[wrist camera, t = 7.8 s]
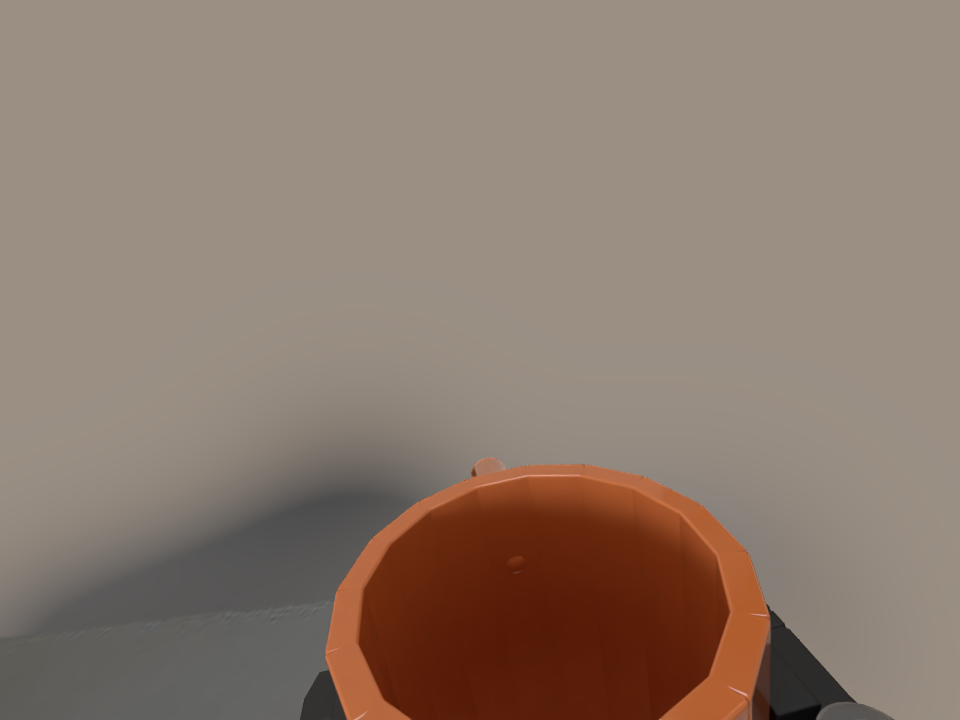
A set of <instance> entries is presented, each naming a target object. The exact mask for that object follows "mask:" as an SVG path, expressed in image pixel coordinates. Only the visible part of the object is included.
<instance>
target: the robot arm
mask: <svg viewBox="0 0 960 720" xmlns="http://www.w3.org/2000/svg"><path fill="white" fill-rule="evenodd" d="M766 605H767V604H766ZM767 608H768V611H769V614H770V617H771V648H770V711H769V720H894V719H893V718H891V717H890V716H888V715H886V714H885V713H883V712H881V711H879V710H876V709H874V708H872V707H869V706H866V705H863V704H858V703H857V702H856V701H854V700H853V699H852V698H851V697H850V696H849V695H848V694H847V692H846V691H845V690H844V689H843V688H842V687H841V686H840V685H839V684H838V682H837V681H836V680H835V679H834V678H833V677H832V676H831V675H830V674H829V672H828V671H827V670H826V669H825V668H824V667H823V666H822V665H821V664H820V662H819V661H818V660H817V659H816V658H815V657H814V656H813V655H812V654H811V653H810V651H809V650H808V649H807V648H806V647H805V646H804V645H803V644H802V643H801V642H800V640H799V639H798V638H797V637H796V636H795V635H794V634H793V633H792V632H791V630H790V629H787V628H786V627H785V624H784V623H783V622H782V620H781V619H780V618H779V617H778V616H777V615H776V614H775V613H774V612H773V611H771V610H770V608H769V606H768V605H767ZM300 720H346V719H345V716H344V713H343V710H342V707H341V704H340V701H339V698H338V695H337V693H336V690H335V687H334V684H333V681H332V678H331V675H330V672H329V670H328V671H324V672H320V673H319V674H318V676H317V678H316V680H315V681H314V683H313V685H312V687H311V688H310V690H309V692H308V693H307V695H306V697H305V699H304V703H303V708H302V713H301V718H300Z"/></svg>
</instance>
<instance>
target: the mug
mask: <svg viewBox="0 0 960 720" xmlns="http://www.w3.org/2000/svg"><path fill="white" fill-rule="evenodd" d="M770 648H771V617H770V614H769V611H768V608H767V605H766V602H765V599H764V596H763V594H762V591H761V587H760V584H759V582H758V579H757V576H756V573H755V570H754V567H753V564H752V561H751V558H750V555H749V553H748V552H747V551H746V549H745V548H744V547H743V546H742V545H741V544H740V543H739V542H738V541H737V540H736V539H735V538H734V537H733V536H732V535H731V534H730V533H729V532H728V531H727V530H726V529H725V528H724V526H723V525H722V524H721V523H720V522H719V521H718V520H717V519H716V518H714V516H713V515H712V514H711V513H710V512H709V511H708V510H707V509H706V508H705V507H704V506H702V505H700V504H699V503H698V502H696V501H694V500H692V499H690V498H688V497H686V496H684V495H682V494H680V493H678V492H675V491H674V490H672V489H669V488H668V487H666V486H664V485H662V484H659V483H658V482H656V481H654V480H652V479H649V478H647V477H643V476H641V475H636V474H631V473H626V472H621V471H617V470H612V469H607V468H602V467H597V466H592V465H584V464H563V465H562V464H561V465H528V466H520V467H515V468H511V469H506V468H505V466H504V464H503V463H502V462H501V461H499V460H497V459H495V458H490V457H488V458H483V459H481V460H479V461H478V462H477V463H476V464H475V465H474V467H473V469H472V473H471V479H466V480H464V481H461V482H459V483H457V484H455V485H453V486H451V487H449V488H446V489H444V490H442V491H440V492H438V493H435V494H433V495H431V496H429V497H427V498H425V499H423V500H420V501H419V502H418V503H415V504H414V505H413V506H411V507H410V508H409V509H408V510H406V511H405V512H404V513H403V514H402V515H400V516H399V517H398V518H396V519H395V520H394V521H393V522H391V523H390V524H389V525H388V526H387V527H385V528H384V529H383V530H381V531H380V532H379V533H378V534H376V535H375V536H374V537H373V538H372V540H370V541H369V542H368V544H367V545H366V547H365V548H364V550H363V551H362V553H361V554H360V556H359V557H358V559H357V560H356V562H355V563H354V565H353V566H352V568H351V570H350V571H349V572H348V574H347V575H346V577H345V578H344V580H343V581H342V583H341V584H340V586H339V587H338V591H337V592H336V596H335V601H334V607H333V613H332V618H331V624H330V630H329V635H328V641H327V646H326V652H325V655H326V663H327V666H328V669H329V672H330V675H331V678H332V681H333V684H334V687H335V690H336V693H337V695H338V698H339V701H340V704H341V707H342V710H343V713H344V716H345V719H346V720H769V711H770Z"/></svg>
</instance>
